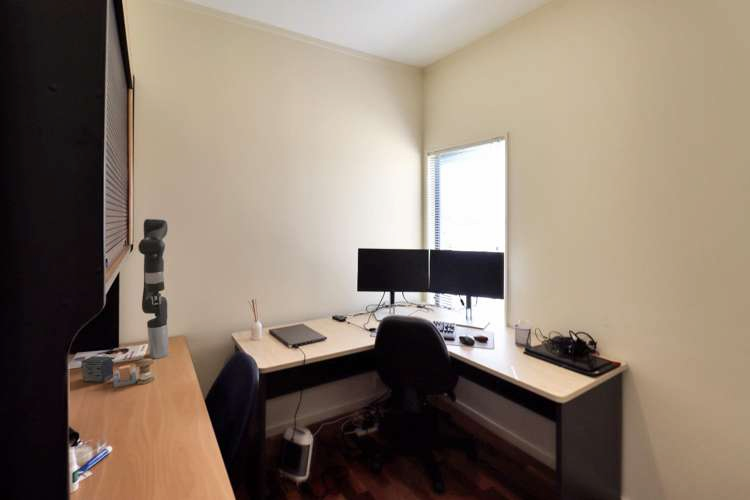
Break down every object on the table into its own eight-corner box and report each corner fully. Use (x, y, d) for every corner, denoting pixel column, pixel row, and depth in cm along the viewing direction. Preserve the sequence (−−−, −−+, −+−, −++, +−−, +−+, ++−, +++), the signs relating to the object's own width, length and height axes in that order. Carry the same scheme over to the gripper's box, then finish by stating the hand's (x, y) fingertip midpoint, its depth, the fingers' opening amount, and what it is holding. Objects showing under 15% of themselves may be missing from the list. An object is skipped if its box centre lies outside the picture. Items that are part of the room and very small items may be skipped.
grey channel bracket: (115, 380, 170) (114, 371, 169) (136, 375, 174) (136, 367, 174) (114, 387, 163) (113, 378, 163) (136, 382, 167) (135, 373, 167)
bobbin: (137, 379, 171) (135, 360, 169) (154, 375, 174) (153, 357, 173) (136, 385, 165) (135, 366, 163) (154, 381, 168) (153, 362, 167)
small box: (114, 376, 173) (112, 356, 172) (103, 383, 167) (101, 362, 165) (94, 375, 174) (92, 355, 173) (82, 382, 168) (80, 361, 166)
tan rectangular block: (120, 378, 169) (119, 366, 168) (131, 376, 171) (130, 364, 170) (120, 381, 166) (119, 369, 165) (130, 379, 168) (129, 367, 168)
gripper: (146, 279, 176) (148, 310, 178) (145, 284, 163) (148, 319, 166) (163, 277, 179) (166, 308, 182) (164, 283, 167) (166, 316, 170)
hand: (157, 313), depth 174 cm, fingers open, 8 cm apart
